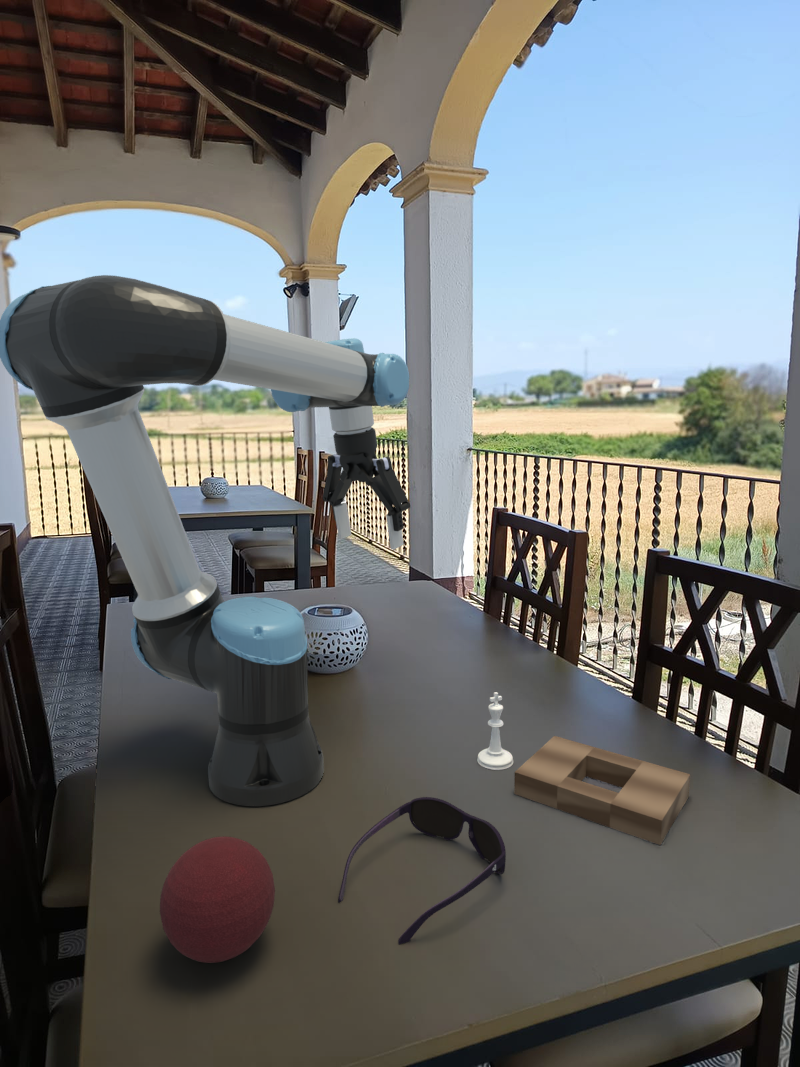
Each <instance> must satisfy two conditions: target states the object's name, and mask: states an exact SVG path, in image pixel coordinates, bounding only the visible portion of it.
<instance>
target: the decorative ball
mask: <svg viewBox="0 0 800 1067" xmlns="http://www.w3.org/2000/svg"><path fill="white" fill-rule="evenodd" d="M274 881H275V880H274V874H273V872H272V869H271V867H270V865H269V862H268V860H267V859H266V857H265V856H264V855H263V854H262V853H261V851H260V850H259V849H258V848H257V847H255V846H254V845H252V844H251V843H249V842H248V841H246V840H243V839H241V838H238V837H232V836H223V835H222V836H216V837H214V836H213V837H210V838H206V839H204V840H202V841H200V842H197V843H196V844H194V845H193V846H192V847H190V848H188V849H187V850H185V851H184V853H182V854H181V856H179V858H178V859H177V860H176V861H175V862H174V864H173V865H172V867H171V868H170V870H169V872H168V873H167V875H166V877H165V880H164V883H163V885H162V888H161V892H160V901H159V915H160V919H161V924H162V929H163V931H164V933H165V935H166V937H167V939H168V940H169V942H170V944H171V945H172V946H173V947H174V949H176V950H177V951H178V952H179V953H180V954H182V955H183V956H185V957H186V958H189V959H191V960H193V961H196V962H199V963H209V964H212V963H213V964H214V963H220V962H225V961H228V960H231V959H234V958H236V957H237V956H239V955H240V956H241V954H243V953H244V952H246V951H247V950H249V948H251V947H252V946H253V944H255V943H256V941H257V940H259V938H260V937H261V936H262V934H263V932H264V931H265V929H266V927H267V926H268V924H269V921H270V919H271V917H272V913H273V910H274V906H275V897H276V888H275V887H276V886H275V882H274Z"/></svg>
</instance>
